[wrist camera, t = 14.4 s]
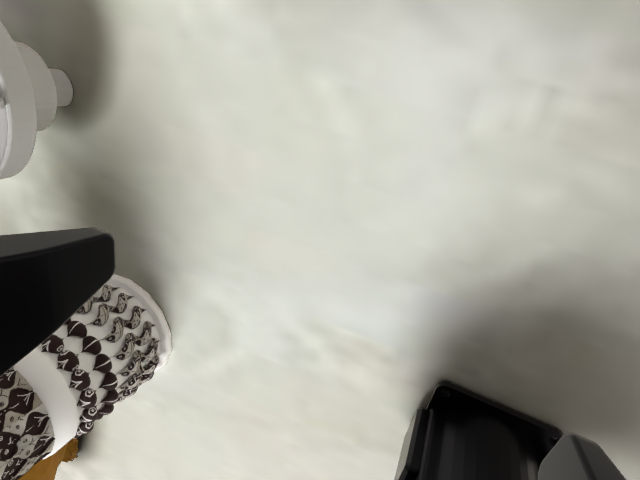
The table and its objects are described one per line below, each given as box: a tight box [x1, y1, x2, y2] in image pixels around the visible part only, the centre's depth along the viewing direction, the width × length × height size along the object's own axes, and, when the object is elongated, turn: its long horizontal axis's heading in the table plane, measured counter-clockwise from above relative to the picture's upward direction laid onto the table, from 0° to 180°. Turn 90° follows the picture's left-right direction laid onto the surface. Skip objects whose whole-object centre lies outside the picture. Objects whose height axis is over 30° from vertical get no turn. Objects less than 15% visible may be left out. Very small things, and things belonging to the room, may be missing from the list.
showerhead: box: [0, 21, 73, 179], centre depth 22 cm, size 9×7×10 cm
